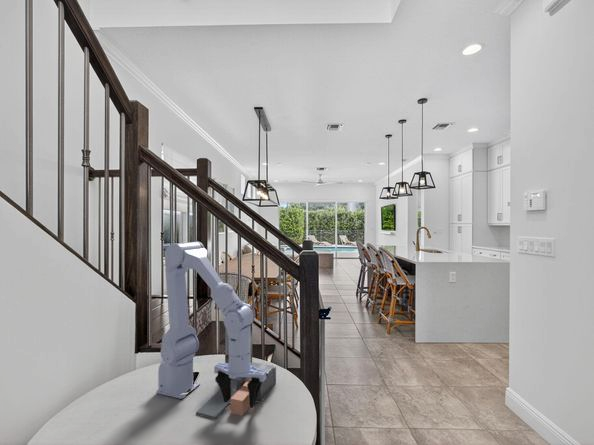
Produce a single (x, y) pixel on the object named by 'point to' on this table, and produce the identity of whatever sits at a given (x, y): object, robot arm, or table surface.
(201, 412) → the pad
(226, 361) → the coffee box
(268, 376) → the dispenser
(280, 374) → the table surface
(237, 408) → the salmon rectangular block
